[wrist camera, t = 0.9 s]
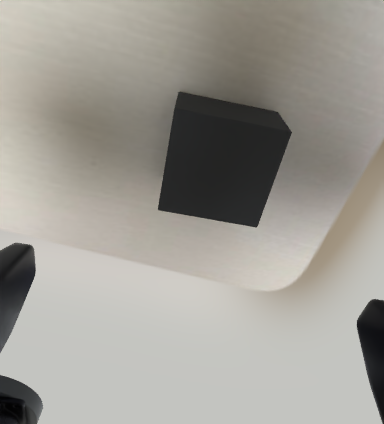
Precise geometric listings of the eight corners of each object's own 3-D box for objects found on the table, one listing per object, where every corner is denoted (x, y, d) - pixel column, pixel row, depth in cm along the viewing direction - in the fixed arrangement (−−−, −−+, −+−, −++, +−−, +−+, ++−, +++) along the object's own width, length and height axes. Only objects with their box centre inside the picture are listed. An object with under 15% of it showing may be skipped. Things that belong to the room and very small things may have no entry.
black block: (249, 198, 19) (257, 228, 17) (163, 182, 19) (157, 210, 16) (278, 111, 17) (292, 131, 14) (178, 91, 16) (174, 107, 14)
